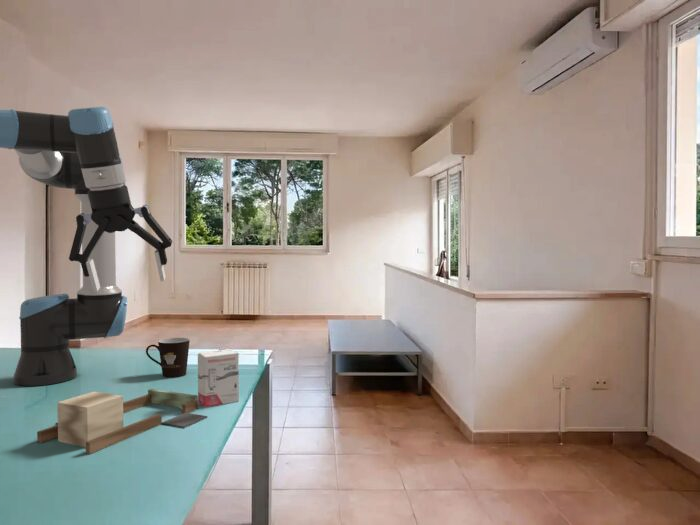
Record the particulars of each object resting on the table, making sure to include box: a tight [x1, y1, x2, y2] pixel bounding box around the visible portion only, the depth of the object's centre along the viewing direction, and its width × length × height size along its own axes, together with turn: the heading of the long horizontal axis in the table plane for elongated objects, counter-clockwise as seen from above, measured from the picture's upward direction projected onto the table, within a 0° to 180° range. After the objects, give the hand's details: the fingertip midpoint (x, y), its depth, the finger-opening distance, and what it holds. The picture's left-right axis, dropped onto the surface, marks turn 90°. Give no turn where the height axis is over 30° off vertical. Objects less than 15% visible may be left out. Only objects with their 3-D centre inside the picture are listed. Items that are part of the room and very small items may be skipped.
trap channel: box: [36, 388, 208, 455], centre depth 106 cm, size 26×28×3 cm
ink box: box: [197, 348, 240, 408], centre depth 121 cm, size 9×5×12 cm, turn 124°
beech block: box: [56, 391, 124, 448], centre depth 99 cm, size 8×8×8 cm
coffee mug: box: [145, 337, 191, 379], centre depth 148 cm, size 12×9×10 cm
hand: (130, 284), depth 111 cm, fingers open, 13 cm apart
